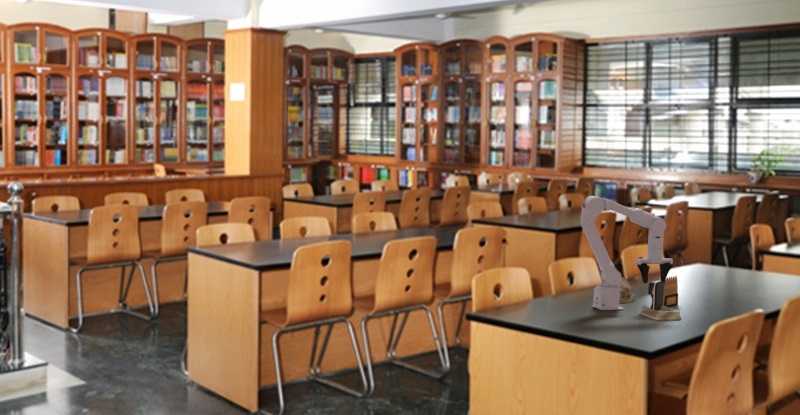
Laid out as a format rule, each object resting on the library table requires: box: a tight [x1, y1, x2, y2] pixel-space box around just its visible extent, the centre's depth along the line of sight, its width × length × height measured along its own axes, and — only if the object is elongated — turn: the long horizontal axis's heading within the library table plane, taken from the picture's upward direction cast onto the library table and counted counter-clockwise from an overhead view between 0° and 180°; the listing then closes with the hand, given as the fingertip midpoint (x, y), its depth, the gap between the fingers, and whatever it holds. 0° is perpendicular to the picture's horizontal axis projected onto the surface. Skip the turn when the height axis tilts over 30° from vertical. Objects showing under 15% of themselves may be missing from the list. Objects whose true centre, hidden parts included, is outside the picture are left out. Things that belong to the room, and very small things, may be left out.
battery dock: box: [638, 306, 682, 321], centre depth 340 cm, size 10×12×3 cm
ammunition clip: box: [663, 275, 679, 308], centre depth 361 cm, size 11×2×12 cm, turn 136°
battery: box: [647, 280, 664, 311], centre depth 352 cm, size 7×4×11 cm, turn 140°
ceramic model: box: [619, 277, 636, 304], centre depth 373 cm, size 14×11×10 cm
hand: (653, 282), depth 353 cm, fingers open, 7 cm apart
